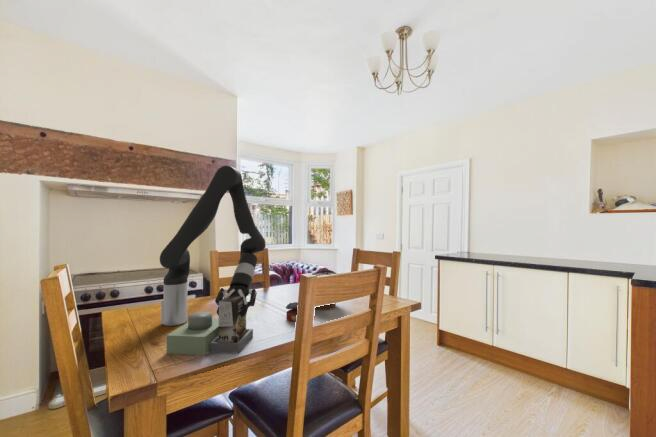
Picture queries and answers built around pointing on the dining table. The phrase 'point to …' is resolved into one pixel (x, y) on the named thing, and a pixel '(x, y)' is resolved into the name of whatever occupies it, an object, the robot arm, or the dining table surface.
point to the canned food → (292, 311)
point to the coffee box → (231, 319)
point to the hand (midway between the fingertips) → (230, 315)
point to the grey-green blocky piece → (202, 337)
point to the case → (325, 272)
